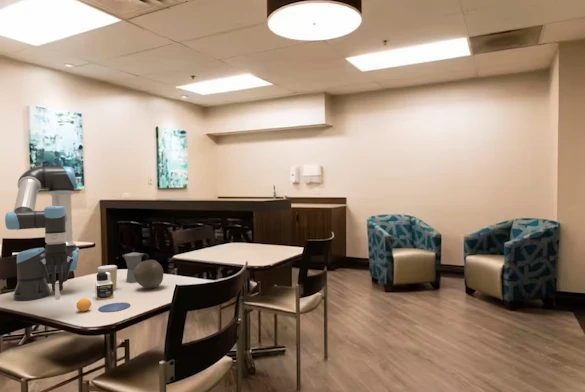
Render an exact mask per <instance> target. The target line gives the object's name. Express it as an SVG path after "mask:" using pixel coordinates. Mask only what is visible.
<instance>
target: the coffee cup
mask: <svg viewBox="0 0 585 392" xmlns="http://www.w3.org/2000/svg"><path fill="white" fill-rule="evenodd" d="M117 269H118V266H117V265H115V264H109V265H107V264H106V265H101V266H98V267H97V274H98V273H101V272H109V273H110V275H111V282H112V283H113V291H115V290H116V289H117V279H118V278H117V275H118V270H117Z"/></svg>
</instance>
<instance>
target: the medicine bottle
mask: <svg viewBox="0 0 585 392" xmlns="http://www.w3.org/2000/svg"><path fill="white" fill-rule="evenodd" d="M94 287H95V288H94V289H95V291H94V292H95V293H94V295H95V296H94V297H95V299H96V300H97V301H102V300H107V299H113V298H114V290H113V283H112V282H111V275H110V273H109V272H101V273H98V272H97V274H96V282H95V283H94Z"/></svg>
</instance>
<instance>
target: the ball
mask: <svg viewBox="0 0 585 392" xmlns="http://www.w3.org/2000/svg"><path fill="white" fill-rule="evenodd" d="M91 306H92V302H91V300H90V299H89V298H86V297H85V298H80V299H79V300H77V302H76V309H77V310H78V311H79V312H83V313H84V312H87V311H88V310H90V308H91Z"/></svg>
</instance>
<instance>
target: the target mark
mask: <svg viewBox="0 0 585 392" xmlns="http://www.w3.org/2000/svg"><path fill="white" fill-rule="evenodd" d="M130 307H131V304H130V303H129V302H113V303H107V304H104V305H101V306H99V307H98V309H97V310H98V312H101V313H114V312H121V311H124V310H126V309H128V308H130Z"/></svg>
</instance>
